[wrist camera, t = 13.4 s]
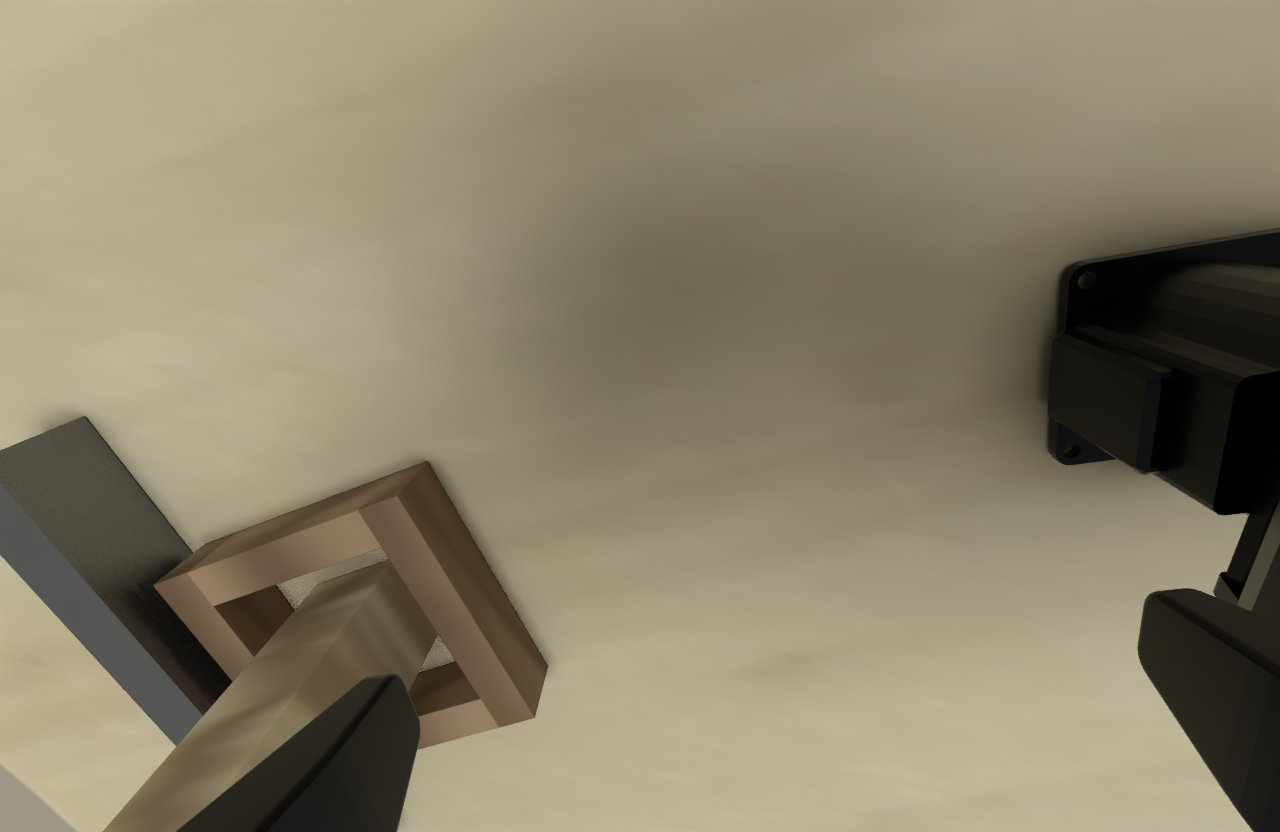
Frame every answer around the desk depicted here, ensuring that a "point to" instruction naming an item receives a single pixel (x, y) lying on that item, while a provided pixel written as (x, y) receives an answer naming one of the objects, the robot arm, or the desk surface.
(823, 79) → the desk surface
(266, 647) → the wooden square post
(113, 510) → the rail
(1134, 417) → the robot arm
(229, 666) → the collar
